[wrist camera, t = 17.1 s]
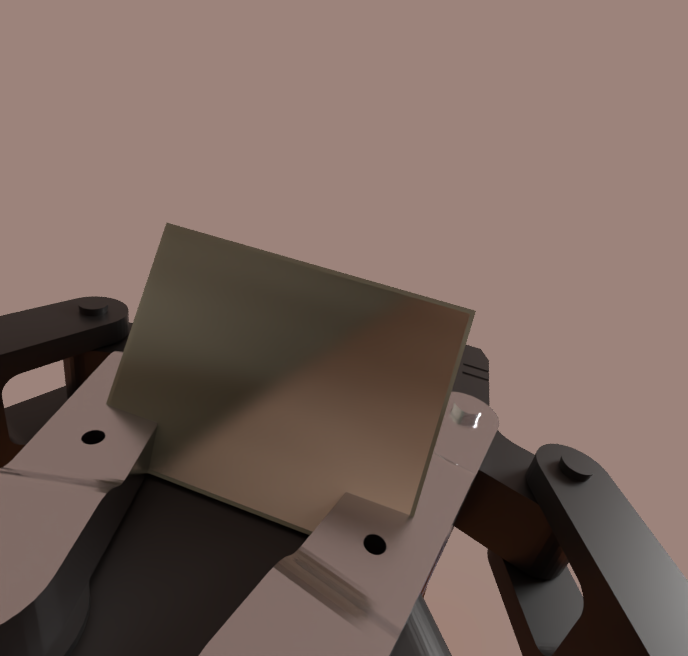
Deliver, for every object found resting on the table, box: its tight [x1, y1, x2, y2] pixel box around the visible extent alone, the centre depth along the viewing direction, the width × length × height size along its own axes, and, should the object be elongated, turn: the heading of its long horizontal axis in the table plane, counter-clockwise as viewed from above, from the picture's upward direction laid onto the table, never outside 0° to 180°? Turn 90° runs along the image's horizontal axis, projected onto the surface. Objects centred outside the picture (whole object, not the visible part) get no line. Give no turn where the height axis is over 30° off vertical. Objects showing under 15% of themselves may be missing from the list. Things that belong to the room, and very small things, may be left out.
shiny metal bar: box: [106, 223, 476, 535], centre depth 17 cm, size 24×4×3 cm, turn 171°
